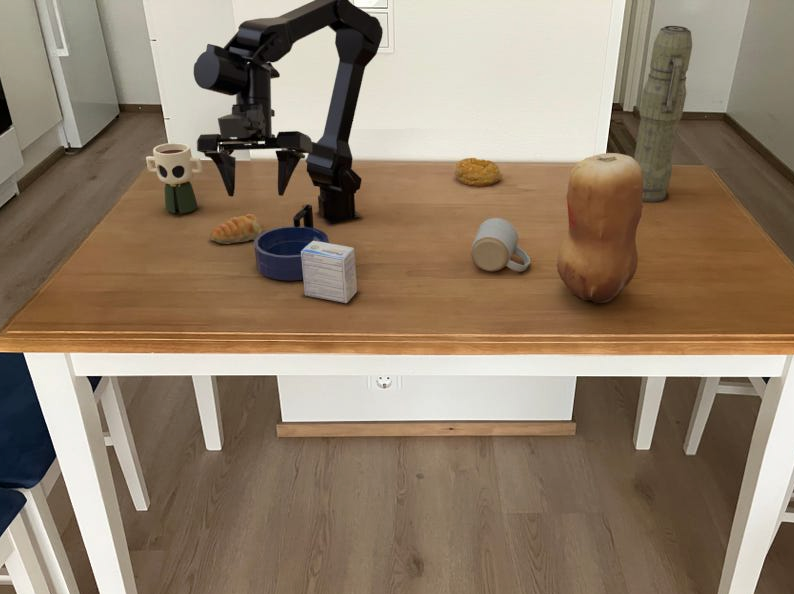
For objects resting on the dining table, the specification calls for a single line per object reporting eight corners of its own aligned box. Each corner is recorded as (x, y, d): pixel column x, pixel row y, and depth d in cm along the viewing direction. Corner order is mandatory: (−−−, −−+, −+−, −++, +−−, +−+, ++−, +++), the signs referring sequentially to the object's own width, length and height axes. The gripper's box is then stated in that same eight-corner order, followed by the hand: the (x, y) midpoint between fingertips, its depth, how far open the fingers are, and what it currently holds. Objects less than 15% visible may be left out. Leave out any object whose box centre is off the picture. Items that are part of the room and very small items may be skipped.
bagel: (502, 188, 175) (503, 168, 172) (453, 187, 175) (454, 166, 172) (500, 172, 183) (501, 153, 181) (454, 171, 183) (454, 151, 181)
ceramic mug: (468, 271, 141) (470, 232, 136) (476, 252, 147) (479, 214, 143) (526, 279, 139) (530, 240, 135) (532, 259, 146) (536, 221, 141)
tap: (305, 242, 149) (301, 200, 144) (322, 244, 149) (319, 202, 144) (289, 259, 143) (285, 215, 138) (308, 261, 143) (304, 218, 138)
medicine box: (357, 292, 133) (355, 247, 128) (346, 305, 130) (343, 258, 125) (316, 284, 135) (312, 239, 130) (304, 296, 132) (300, 250, 127)
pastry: (220, 249, 146) (217, 231, 143) (205, 237, 150) (202, 219, 148) (265, 237, 151) (263, 219, 148) (249, 225, 155) (247, 207, 153)
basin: (312, 245, 148) (310, 220, 146) (341, 272, 139) (340, 247, 136) (247, 259, 143) (243, 234, 140) (272, 289, 133) (269, 263, 131)
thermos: (655, 183, 180) (684, 22, 160) (675, 203, 170) (709, 34, 151) (618, 184, 179) (644, 22, 159) (636, 204, 169) (665, 34, 150)
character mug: (150, 216, 157) (137, 153, 150) (160, 202, 163) (149, 141, 156) (204, 217, 158) (194, 155, 150) (212, 203, 163) (203, 143, 156)
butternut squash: (550, 277, 140) (566, 140, 126) (624, 280, 140) (648, 143, 126) (557, 316, 128) (575, 170, 114) (638, 319, 128) (666, 174, 114)
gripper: (176, 92, 124) (179, 192, 126) (284, 87, 120) (286, 190, 122) (212, 107, 135) (215, 198, 137) (313, 103, 131) (314, 196, 133)
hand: (255, 195), depth 132 cm, fingers open, 9 cm apart
